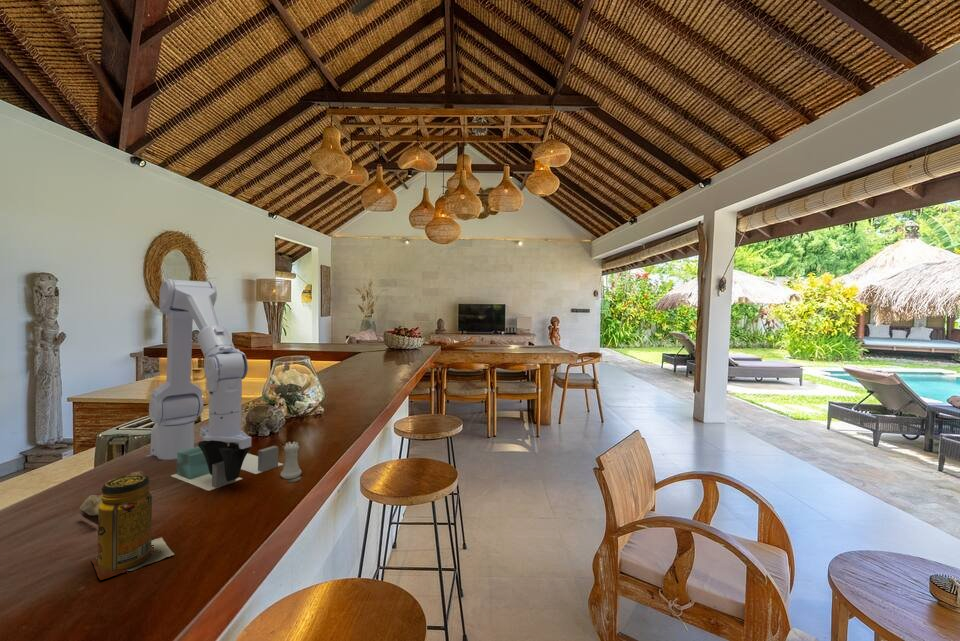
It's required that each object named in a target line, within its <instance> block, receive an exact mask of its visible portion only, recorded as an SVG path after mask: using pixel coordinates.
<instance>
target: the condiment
mask: <svg viewBox="0 0 960 641" xmlns="http://www.w3.org/2000/svg"><path fill="white" fill-rule="evenodd" d="M149 483H150V478H149V477H148V476H147V475H145V474H143V475H131V474H128V475H123V476H119V477H115V478H113V479H110V480H108V481H107V482H105V483H104V484H103V486H102V488H101V492H102V494H101V495H102V502H101V503H100V505H99V510H98V514H99V515H97V517H98V521H97V524H98V526H97V558H98V564H99V566H100V568H101V569H102V570H104V571H105V570H106V571H117V570H126V569H128V571H130V572H131V571H135V570H137V569H140V568H142V567H144V566H146V565H150V564H153V563H155V562H159V561H162V560H163V559H165V558H168V557H171V556H174V555H175V553H174V552H173V551H172V550H171V549H170V547H169V546H168V545H167V543H166V541H165V540H164V538H163V537H162V536H161V537H159V538H154V539H152V531H153V530H152V529H153V528H152V526H153V525H152V523H153V521H152V519H153V517H152V516H153V495H152V493H151V492H150V485H149ZM151 545H154V546H152V547H154V549H151ZM157 550H158V551H157ZM160 551H161V553H158V552H160ZM151 552H154V553H155V555H154V553H153V554H152V553H151ZM152 556H153V557H152Z"/></svg>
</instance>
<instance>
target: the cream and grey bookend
mask: <svg viewBox="0 0 960 641" xmlns="http://www.w3.org/2000/svg"><path fill="white" fill-rule="evenodd" d="M283 465H284V463H281V462H279V446H277V445H271V446H269V447H265V448H262V449H259V450H257V455H254V454H251V453H249V452H248V453H247V455H246V456H245V459H244V461H243V464H242V467H241V470H242V471H245V472H248V473H250V474H254V475H257V474H260V473H261V474H262V473H264V472H266V471H269V470H272V469H275V468H277V467H280V466H283Z"/></svg>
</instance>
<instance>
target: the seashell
mask: <svg viewBox="0 0 960 641" xmlns="http://www.w3.org/2000/svg"><path fill="white" fill-rule="evenodd" d="M130 475H145V474H144V471H143V470H140V471H134V472H130ZM101 502H102V494H100V495H98V494H97V495H96V494H92V495H89V496H88V497H86V499H84V500H83V502H82V503H81V505H80V507H79V508H78V509H79V510H81V511H82V512H84V513H86V514H87V515H88V516H98V515H99V514H98V510H99V505H100V503H101Z"/></svg>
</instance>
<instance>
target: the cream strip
mask: <svg viewBox="0 0 960 641" xmlns="http://www.w3.org/2000/svg"><path fill="white" fill-rule="evenodd" d="M170 477H172V478H174V479H177V480H180V481H182V482H186V483H188V484H189V485H193V486H195V487H198V488H200V489H203V490H205V491H209V492H210V491H212V490H215V489H218V488H221V487H223V486H226V485H228V484H232V483H235V482H237V481H240V480H243V478H242V477H238V478H237V479H234V480H231V481H227V480H226V477H225V466H224V461H222V462H219V463H215V464H212V475H210V473H209V474H206V475H203V476H200V477H197V478H194V479H187V478H184V477H182V476H179V475H177V473H175V474H172V475H170Z"/></svg>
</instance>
